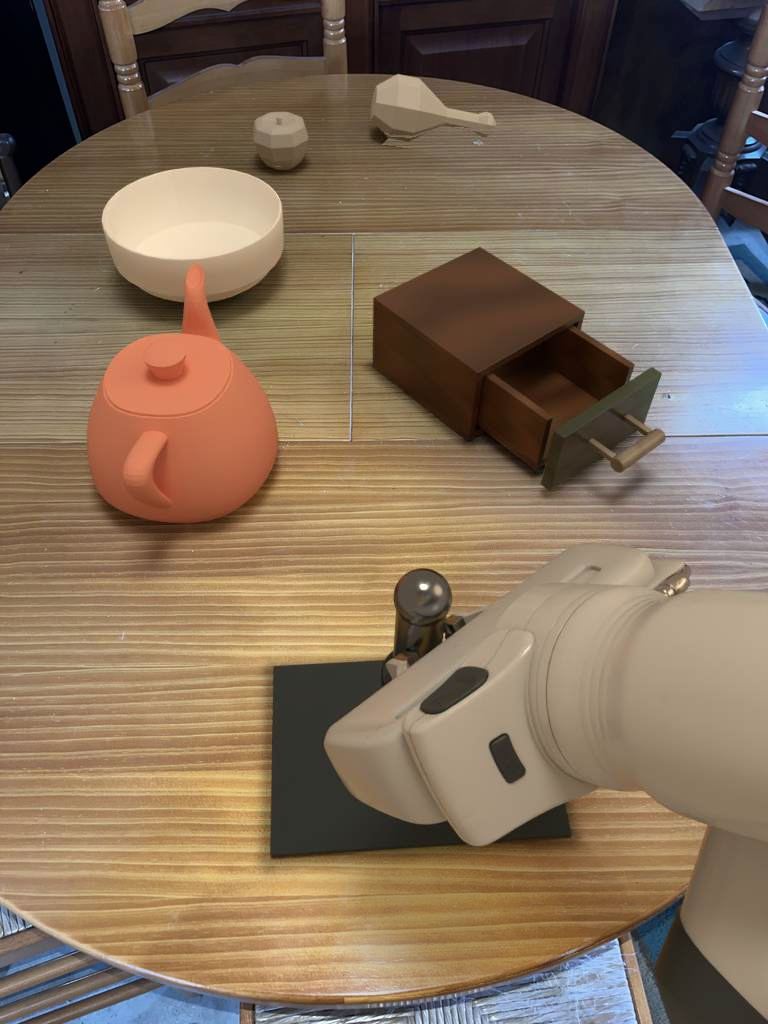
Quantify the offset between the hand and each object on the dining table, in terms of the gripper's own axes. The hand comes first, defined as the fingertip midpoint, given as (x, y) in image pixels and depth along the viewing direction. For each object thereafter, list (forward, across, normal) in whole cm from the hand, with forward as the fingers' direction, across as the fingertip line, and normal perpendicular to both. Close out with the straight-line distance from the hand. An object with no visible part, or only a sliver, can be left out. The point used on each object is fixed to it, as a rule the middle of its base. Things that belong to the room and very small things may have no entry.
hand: (425, 647), depth 50 cm
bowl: (+50, -19, -33) cm, 63 cm away
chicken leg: (+57, -65, -40) cm, 95 cm away
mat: (+8, +1, +9) cm, 12 cm away
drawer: (+17, -31, -2) cm, 36 cm away
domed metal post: (+4, 0, +3) cm, 5 cm away
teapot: (+33, -2, -16) cm, 36 cm away
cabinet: (+27, -31, -10) cm, 43 cm away
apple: (+62, -42, -45) cm, 87 cm away
